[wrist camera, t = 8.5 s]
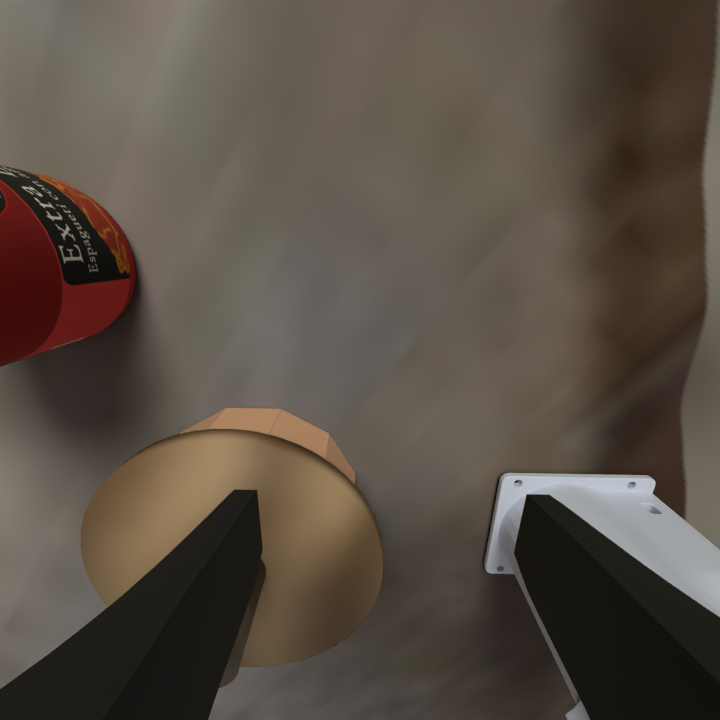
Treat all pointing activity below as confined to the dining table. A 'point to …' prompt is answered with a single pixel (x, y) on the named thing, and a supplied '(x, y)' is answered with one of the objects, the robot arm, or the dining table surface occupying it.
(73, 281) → the canned food
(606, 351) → the dining table surface
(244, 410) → the bowl
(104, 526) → the lid
